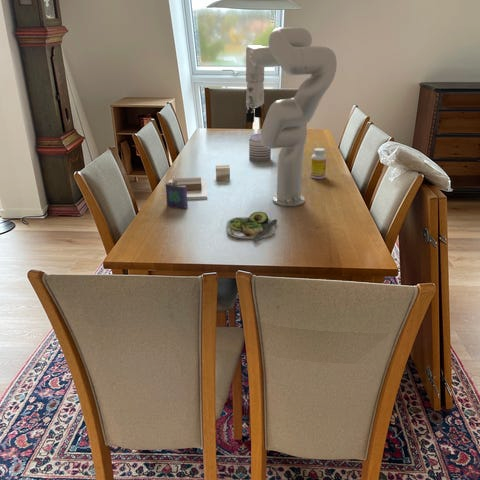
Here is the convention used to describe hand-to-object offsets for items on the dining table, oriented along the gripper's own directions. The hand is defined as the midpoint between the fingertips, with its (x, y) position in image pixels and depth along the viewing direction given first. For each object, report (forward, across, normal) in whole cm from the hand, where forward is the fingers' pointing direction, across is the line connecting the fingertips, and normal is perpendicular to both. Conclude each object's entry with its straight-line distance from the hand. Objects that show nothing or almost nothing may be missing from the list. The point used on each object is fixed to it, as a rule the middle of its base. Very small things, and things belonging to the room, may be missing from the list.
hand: (254, 119), depth 199 cm
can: (+27, +29, +7) cm, 40 cm away
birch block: (+26, -6, +12) cm, 30 cm away
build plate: (+26, -25, +20) cm, 42 cm away
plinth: (+25, -25, +20) cm, 41 cm away
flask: (+26, -43, +16) cm, 53 cm away
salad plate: (+26, -53, -18) cm, 61 cm away
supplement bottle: (+26, +11, -27) cm, 39 cm away
